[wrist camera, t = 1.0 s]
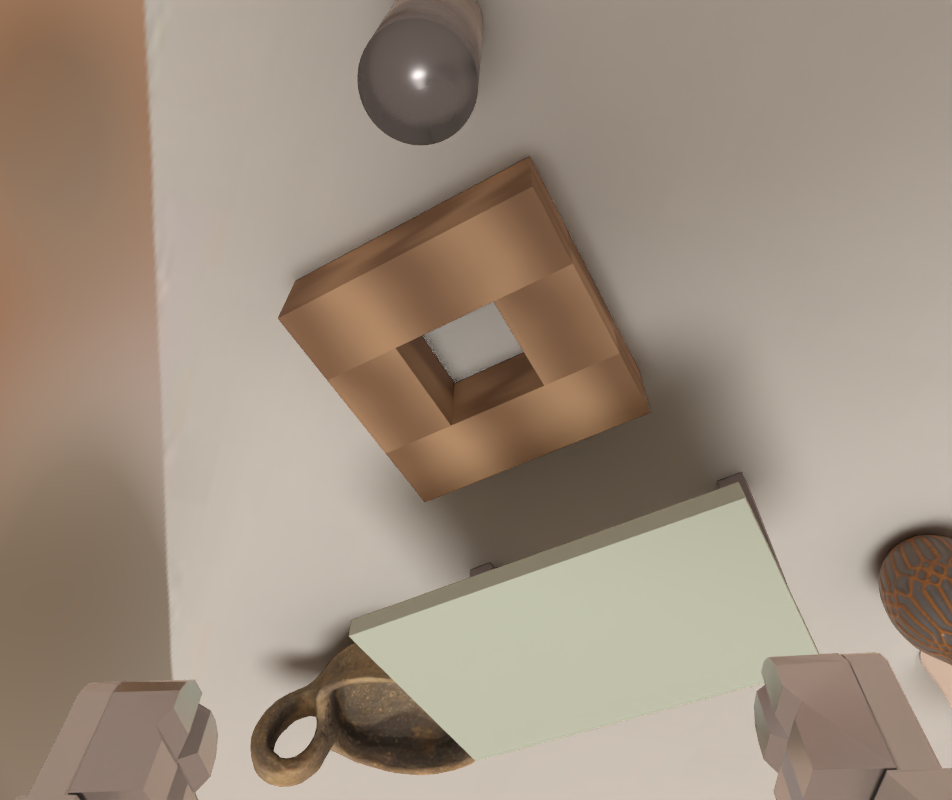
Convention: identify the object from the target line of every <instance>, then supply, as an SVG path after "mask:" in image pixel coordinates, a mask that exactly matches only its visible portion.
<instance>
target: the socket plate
mask: <svg viewBox="0 0 952 800" xmlns="http://www.w3.org/2000/svg"><path fill="white" fill-rule="evenodd" d="M491 302H494V303H495V305H496V307H497V308H498V310H499V312H500V313H501V315H502V317H503V318H504V320H505V322H506V323H507V325H508V326H509V328H510V330H511V331H512V333H513V335H514V336H515V338H516V340H517V341H518V343H519V345H520V346H521V348H522V350H523V351H524V353H522V354H520V355H517V356H515V357H513V358H511V359H508V360H506V361H504V362H502V363H500V364H497V365H495V366H493V367H491V368H488V369H486V370H484V371H482V372H479V373H477V374H475V375H473V376H470V377H468V378H466V379H464V380H461V381H459V382H457V383H455V384H454V382H453V381H452V379H451V378H450V376H449V375H448V374H447V372H446V371H445V369H444V368H443V366H442V365H441V363H440V362H439V360H438V359H437V357H436V356H435V355H434V353H433V352H432V350H431V349H430V347H429V346H428V344H427V343H426V341H425V340H424V339H423V337H422V335H424V334H426V333H428V332H430V331H432V330H435V329H437V328H439V327H441V326H443V325H445V324H447V323H449V322H451V321H453V320H456V319H458V318H460V317H462V316H464V315H466V314H468V313H470V312H472V311H474V310H477V309H479V308H481V307H483V306H485V305H487V304H489V303H491ZM278 319H279V320H280V322H281V323H282V324H283V325H284V327H285V328H286V329H287V330H288V332H289V333H290V334H291V335H292V337H293V338H294V339H295V340H296V342H297V343H298V344H299V345H300V347H301V348H302V349H303V350H304V352H305V353H306V354H307V355H308V357H309V358H310V359H311V360H312V362H313V363H314V364H315V365H316V367H317V368H318V369H319V370H320V372H321V373H322V374H323V375H324V377H325V378H326V379H327V380H328V382H329V383H330V384H331V386H332V387H333V388H334V389H335V391H336V392H337V393H338V394H339V396H340V397H341V398H342V399H343V401H344V402H345V403H346V404H347V406H348V407H349V408H350V409H351V411H352V412H353V413H354V414H355V416H356V417H357V418H358V419H359V421H360V422H361V423H362V424H363V426H364V427H365V428H366V429H367V431H368V432H369V433H370V434H371V436H372V437H373V438H374V439H375V441H376V442H377V443H378V444H379V446H380V447H381V448H382V449H383V451H384V452H385V453H386V454H387V456H388V457H389V458H390V459H391V461H392V462H393V463H394V464H395V466H396V467H397V468H398V469H399V471H400V472H401V473H402V474H403V476H404V477H405V478H406V479H407V481H408V482H409V483H410V484H411V486H412V487H413V488H414V489H415V491H416V492H417V493H418V494H419V496H420V497H421V498H422V499H423V501H424V502H427V501H430V500H432V499H435V498H437V497H440V496H442V495H445V494H447V493H450V492H452V491H455V490H457V489H460V488H462V487H465V486H467V485H470V484H472V483H475V482H477V481H480V480H482V479H485V478H487V477H490V476H492V475H495V474H497V473H500V472H502V471H505V470H507V469H510V468H512V467H515V466H517V465H520V464H522V463H525V462H528V461H530V460H533V459H535V458H538V457H540V456H543V455H545V454H548V453H550V452H553V451H555V450H558V449H560V448H563V447H565V446H568V445H570V444H573V443H575V442H578V441H580V440H583V439H585V438H588V437H590V436H593V435H595V434H598V433H600V432H603V431H605V430H608V429H610V428H613V427H615V426H618V425H620V424H623V423H625V422H628V421H630V420H633V419H635V418H638V417H641V416H643V415H646V414H648V413H651V412H650V409H649V405H648V401H647V398H646V394H645V390H644V387H643V383H642V379H641V376H640V372H639V369H638V367H637V365H636V363H635V362H634V360H633V358H632V356H631V354H630V352H629V350H628V348H627V346H626V344H625V342H624V340H623V338H622V336H621V334H620V332H619V330H618V328H617V326H616V324H615V322H614V321H613V319H612V317H611V315H610V313H609V311H608V309H607V307H606V305H605V303H604V301H603V299H602V297H601V295H600V293H599V291H598V289H597V287H596V285H595V283H594V281H593V280H592V278H591V276H590V274H589V272H588V270H587V268H586V266H585V264H584V262H583V260H582V258H581V256H580V254H579V252H578V250H577V248H576V246H575V244H574V242H573V240H572V239H571V237H570V235H569V233H568V231H567V229H566V227H565V225H564V223H563V221H562V219H561V217H560V215H559V213H558V211H557V209H556V207H555V205H554V203H553V201H552V199H551V198H550V196H549V194H548V192H547V190H546V188H545V186H544V184H543V182H542V180H541V178H540V176H539V174H538V172H537V170H536V168H535V166H534V164H533V162H532V160H531V158H530V157H528V158H526V159H524V160H522V161H520V162H518V163H516V164H514V165H513V166H511V167H509V168H507V169H505V170H503V171H501V172H499V173H498V174H496V175H494V176H492V177H490V178H488V179H486V180H484V181H483V182H481V183H479V184H477V185H475V186H473V187H471V188H469V189H467V190H466V191H464V192H462V193H460V194H458V195H456V196H454V197H452V198H451V199H449V200H447V201H445V202H443V203H441V204H439V205H437V206H436V207H434V208H432V209H430V210H428V211H426V212H424V213H422V214H420V215H419V216H417V217H415V218H413V219H411V220H409V221H407V222H405V223H404V224H402V225H400V226H398V227H396V228H394V229H392V230H390V231H389V232H387V233H385V234H383V235H381V236H379V237H377V238H375V239H373V240H372V241H370V242H368V243H366V244H364V245H362V246H360V247H358V248H357V249H355V250H353V251H351V252H349V253H347V254H345V255H343V256H342V257H340V258H338V259H336V260H334V261H332V262H330V263H328V264H326V265H325V266H323V267H321V268H319V269H317V270H315V271H313V272H311V273H310V274H308V275H306V276H304V277H302V278H300V279H298V280H296V281H295V283H294V285H293V287H292V289H291V291H290V293H289V296H288V298H287V300H286V302H285V304H284V306H283V308H282V311H281V313H280V315H279V317H278Z"/></svg>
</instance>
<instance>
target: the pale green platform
mask: <svg viewBox="0 0 952 800" xmlns="http://www.w3.org/2000/svg"><path fill="white" fill-rule="evenodd" d="M717 482H718V485H719V487H720V489H717V490H714V491H712V492H709V493H706V494H703V495H700V496H697V497H695V498H692V499H689V500H686V501H683V502H681V503H678V504H675V505H672V506H669V507H667V508H664V509H661V510H658V511H655V512H653V513H650V514H647V515H644V516H641V517H639V518H636V519H633V520H630V521H627V522H624V523H622V524H619V525H616V526H613V527H610V528H608V529H605V530H602V531H599V532H596V533H594V534H591V535H588V536H585V537H582V538H580V539H577V540H574V541H571V542H568V543H566V544H563V545H560V546H557V547H554V548H552V549H549V550H546V551H543V552H540V553H537V554H535V555H532V556H529V557H526V558H523V559H521V560H518V561H515V562H512V563H509V564H507V565H504V566H501V567H498V568H494V567H493V566H492V565H491V563H488V564H486V565H483V566H480V567H477V568H474V569H472V570H470V578H467V579H465V580H462V581H459V582H456V583H453V584H450V585H448V586H445V587H442V588H439V589H436V590H434V591H431V592H428V593H425V594H422V595H420V596H417V597H414V598H411V599H408V600H406V601H403V602H400V603H397V604H394V605H392V606H389V607H386V608H383V609H380V610H377V611H375V612H372V613H369V614H366V615H363V616H361V617H358V618H355V619H352V621H351V627H350V632H349V637H350V638H351V639H352V640H353V641H354V642H355V643H356V644H357V645H358V646H359V647H360V648H361V649H362V650H363V651H364V652H365V653H366V654H367V655H368V656H369V657H370V658H371V659H372V660H373V661H374V662H375V663H376V664H377V665H378V666H379V667H380V668H381V669H383V670H384V671H385V672H386V673H387V674H388V675H389V676H390V677H391V678H392V679H393V680H394V681H395V682H396V683H397V684H398V685H399V686H400V687H401V688H402V689H403V690H404V691H405V692H406V693H407V694H408V695H409V696H410V697H411V698H412V699H413V700H414V701H415V702H416V703H417V704H418V705H419V706H420V707H421V708H422V709H423V710H424V711H425V712H426V713H427V714H428V715H429V716H430V717H431V718H432V719H433V720H434V721H435V722H436V723H437V724H438V725H439V726H440V727H441V728H442V729H443V730H444V731H446V732H447V733H448V734H449V735H450V736H451V737H452V738H453V739H454V740H455V741H456V742H457V743H458V744H459V745H460V746H461V747H462V748H463V749H464V750H465V751H466V752H467V753H468V754H469V755H470V756H471V757H472V758H473V759H474V760H475V761H479V760H483V759H486V758H490V757H494V756H497V755H501V754H505V753H508V752H512V751H516V750H519V749H523V748H527V747H530V746H534V745H538V744H541V743H545V742H549V741H552V740H556V739H560V738H563V737H567V736H571V735H574V734H578V733H582V732H585V731H589V730H593V729H596V728H600V727H604V726H607V725H611V724H615V723H618V722H622V721H626V720H629V719H633V718H637V717H640V716H644V715H648V714H651V713H655V712H659V711H662V710H666V709H670V708H673V707H677V706H681V705H684V704H688V703H692V702H695V701H699V700H703V699H706V698H710V697H714V696H717V695H721V694H725V693H728V692H732V691H736V690H739V689H743V688H747V687H750V686H754V685H758V684H761V683H764V680H763V677H762V674H761V670H762V666H763V663H764V661H765V660H766V659H767V658H768V657H778V656H796V655H814V654H819V652H818V650H817V648H816V645H815V643H814V641H813V639H812V637H811V635H810V633H809V631H808V628H807V626H806V624H805V622H804V620H803V618H802V616H801V614H800V611H799V609H798V607H797V605H796V603H795V601H794V599H793V597H792V594H791V592H790V590H789V588H788V585H787V583H786V580H785V577H784V575H783V572H782V570H781V567H780V565H779V562H778V560H777V557H776V555H775V552H774V550H773V547H772V544H771V542H770V539H769V537H768V534H767V532H766V529H765V527H764V524H763V522H762V519H761V517H760V514H759V511H758V509H757V506H756V504H755V501H754V499H753V496H752V494H751V491H750V489H749V486H748V484H747V482H746V480H745V478H744V476H743V473H742V472H741V473H739V474H736V475H733V476H730V477H728V478H725V479H722V480H719V481H717Z"/></svg>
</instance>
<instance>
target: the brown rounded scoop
mask: <svg viewBox="0 0 952 800" xmlns="http://www.w3.org/2000/svg"><path fill="white" fill-rule="evenodd" d="M307 716H315V717H316V718H317V729H316V732H315V735H314V737H313V739H312V741H311V742H310V744H309V745H308V747H307V748H306V749H305V750H304V751H303V752H302V753H300V754H299V755H297V756H296V757H292V758H287V759H286V758H280V757H279V756H278V755H277V754H276V753H275V752H274V751H273V750H274V746H275V743H276V741H277V739H278V737H279V736H280V735H281V733H282V732H283V731H284V730H286V729H287V727H288V726H289V725H291V724H292V723H293V722H294V721H296V720H299V719H301V718H304V717H307ZM330 750H332V751H334V752H336V753H338V754H341V755H343V756H345V757H347V758H349V759H351V760H353V761H355V762H357V763H361V764H364V765H367V766H371V767H375V768H378V769H381V770H384V771H389V772H394V773H401V774H411V775H429V774H438V773H443V772H447V771H452V770H455V769H458V768H462V767H464V766H467V765H469V764H471V763H473V762H474V761H475V760H474V759H473V758H472V757H471V756H470V755H469V754H468V753H467V752H466V751H465V750H464V749H463V748H462V747H461V746H460V745H459V744H458V743H457V742H456V741H455V740H454V739H453V738H452V737H451V736H450V735H449V734H448V733H447V732H446V731H444V730H443V729H442V728H441V727H440V726H439V725H438V724H437V723H436V722H435V721H434V720H433V719H432V718H431V717H430V716H429V715H428V714H427V713H426V712H425V711H424V710H423V709H422V708H421V707H420V706H419V705H418V704H417V703H416V702H415V701H414V700H413V699H412V698H411V697H410V696H409V695H408V694H407V693H406V692H405V691H404V690H403V689H402V688H401V687H400V686H399V685H398V684H397V683H396V682H395V681H394V680H393V679H392V678H391V677H390V676H389V675H388V674H387V673H386V672H385V671H384V670H383V669H381V668H380V667H379V666H378V665H377V664H376V663H375V662H374V661H373V660H372V659H371V658H370V657H369V656H368V655H367V654H366V653H365V652H364V651H363V650H362V649H361V648H360V647H359V646H358V645H357V644H356V643H354V644H352V645H350V646H348V647H347V648H345V649H344V650H342V651H341V652H339V653H338V654H337V655H336V656H335V657H334V658H333V659H332V660H331V661H330V663H329V664H328V665H327V667H326V668H325V669H324V671H323V672H322V673H321V674H320V675H319V676H318V677H317V678H316V679H315V680H314V681H313V682H312V683H310V684H309V685H308V686H305V687H303V688H301V689H298V690H296V691H294V692H292V693H289V694H287V695H286V696H284V697H282V698H281V699H279V700H277V701H276V702H275V703H274V704H273V705H272V706H271V707H270V708H269V709H267V710H266V712H265V713H264V714H263V716H262V717H261V718H260V720H259V722H258V723H257V725H256V727H255V729H254V731H253V734H252V738H251V757H252V761H253V765H254V769H255V771H256V773H257V774H258V776H259V777H260V778H261V779H263V780H264V781H265V782H267V783H269V784H271V785H275V786H279V787H285V786H294V785H297V784H300V783H302V782H304V781H305V780H307V779H308V778H309V777H311V776H312V775H313V774H315V773H316V772H317V771H318V770H319V768H320V767H321V765H322V763H323V761H324V759H325V758H326V756H327V754H328V753H329V751H330Z"/></svg>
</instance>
